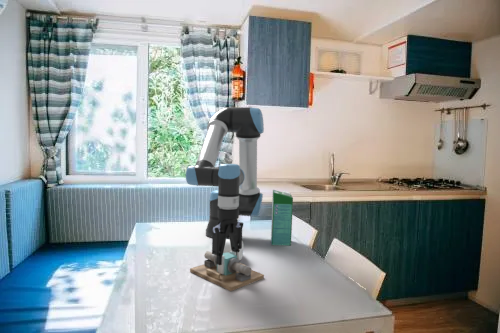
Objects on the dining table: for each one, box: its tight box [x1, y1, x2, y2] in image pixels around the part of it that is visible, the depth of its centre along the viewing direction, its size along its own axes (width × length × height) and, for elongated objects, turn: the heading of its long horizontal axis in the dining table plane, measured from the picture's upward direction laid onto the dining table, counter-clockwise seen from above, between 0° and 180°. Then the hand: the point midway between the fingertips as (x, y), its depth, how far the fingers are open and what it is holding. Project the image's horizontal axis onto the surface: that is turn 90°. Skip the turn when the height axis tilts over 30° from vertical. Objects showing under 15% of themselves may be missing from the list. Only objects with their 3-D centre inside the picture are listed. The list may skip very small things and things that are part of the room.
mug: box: [223, 238, 244, 261], centre depth 144 cm, size 12×10×8 cm
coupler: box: [217, 252, 237, 275], centre depth 125 cm, size 6×5×6 cm
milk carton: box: [270, 189, 294, 247], centre depth 166 cm, size 9×9×25 cm
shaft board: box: [189, 251, 265, 292], centre depth 125 cm, size 22×16×7 cm
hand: (226, 270), depth 125 cm, fingers closed on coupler, 5 cm apart
